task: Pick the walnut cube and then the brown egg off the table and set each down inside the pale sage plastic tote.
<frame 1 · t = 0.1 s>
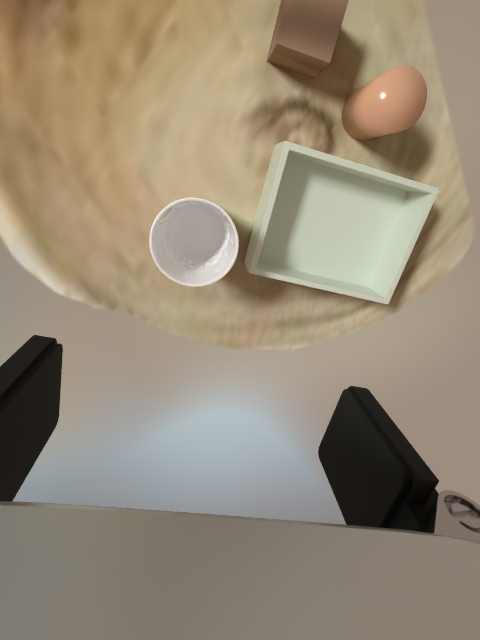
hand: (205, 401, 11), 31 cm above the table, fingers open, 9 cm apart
cube: (298, 40, 33), on the table
white cup: (196, 228, 39), on the table
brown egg: (364, 113, 36), on the table
tote: (326, 225, 40), on the table
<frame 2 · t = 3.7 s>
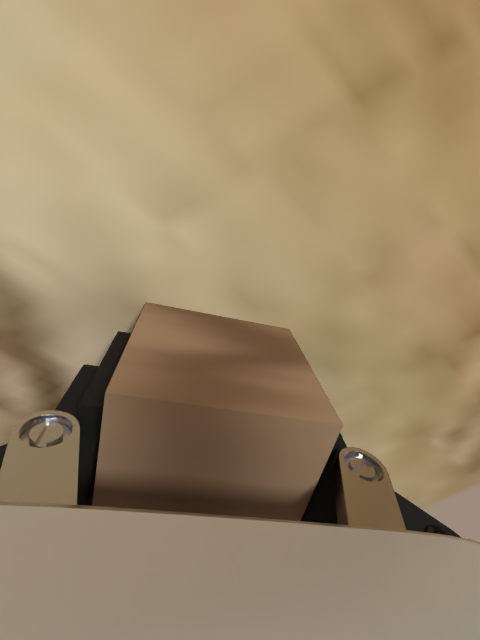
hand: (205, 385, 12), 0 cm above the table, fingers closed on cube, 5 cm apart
cube: (205, 377, 12), on the table, touching gripper
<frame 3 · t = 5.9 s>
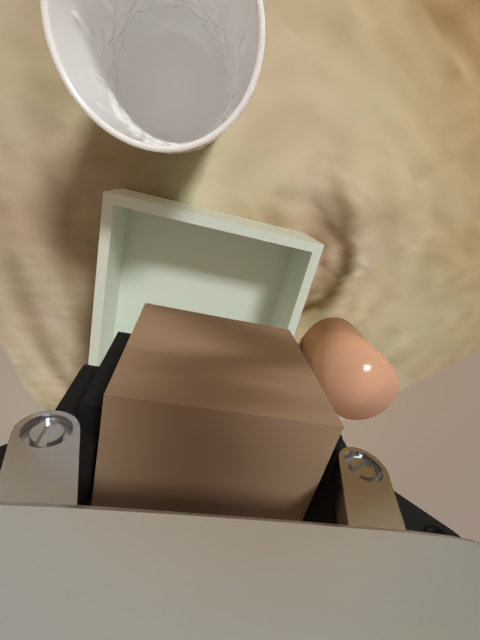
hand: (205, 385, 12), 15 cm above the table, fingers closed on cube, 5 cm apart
cube: (205, 378, 12), point 15 cm above the table, touching gripper
white cup: (177, 93, 21), on the table
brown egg: (329, 343, 30), on the table
tote: (194, 318, 27), on the table
when the fingers open (3 cm above the table, at t = 8.4 s): cube drops 2 cm, resting on tote.
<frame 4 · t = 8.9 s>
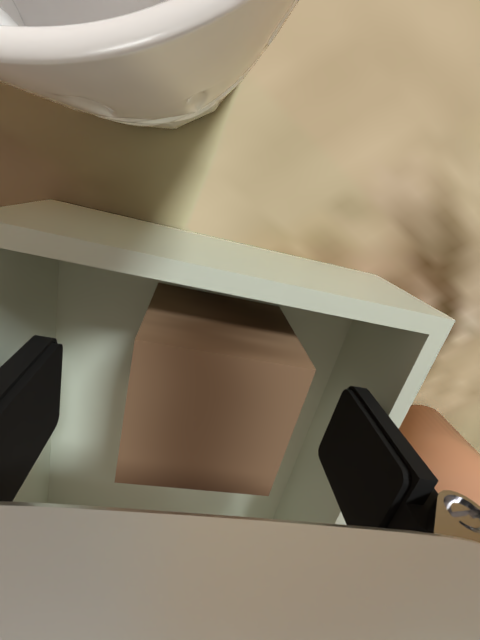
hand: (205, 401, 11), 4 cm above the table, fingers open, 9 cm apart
cube: (208, 348, 14), point 1 cm above the table, touching tote
white cup: (149, 8, 10), on the table
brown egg: (402, 441, 19), on the table
tote: (188, 413, 16), on the table
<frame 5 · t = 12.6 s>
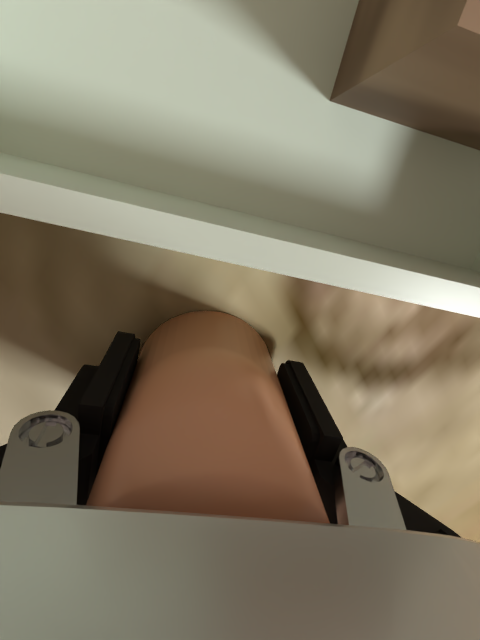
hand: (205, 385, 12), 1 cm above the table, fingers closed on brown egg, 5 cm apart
cube: (450, 20, 9), point 1 cm above the table, touching tote
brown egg: (205, 371, 13), on the table, touching gripper
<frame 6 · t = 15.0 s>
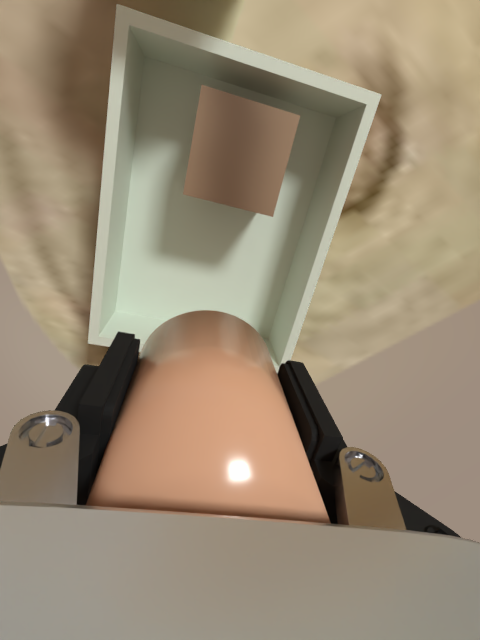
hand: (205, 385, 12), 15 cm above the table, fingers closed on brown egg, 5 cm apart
cube: (232, 160, 22), point 1 cm above the table, touching tote
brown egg: (205, 371, 13), point 14 cm above the table, touching gripper
tote: (216, 220, 24), on the table
when the fingers open (3 cm above the table, at t = 17.4 s): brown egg drops 1 cm, resting on tote.
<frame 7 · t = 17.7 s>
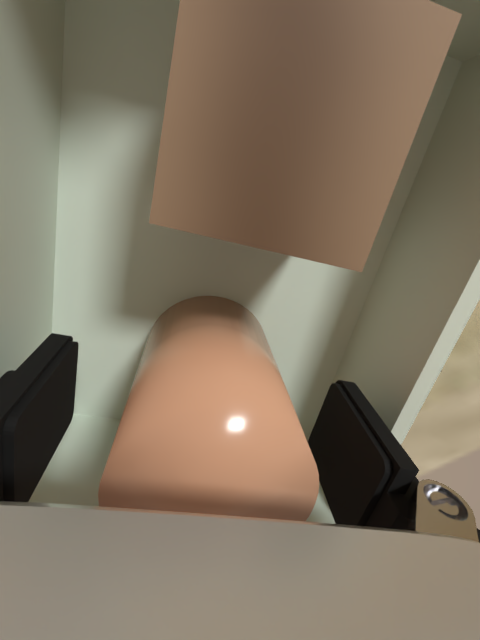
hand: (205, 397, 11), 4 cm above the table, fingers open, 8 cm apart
cube: (257, 146, 11), point 1 cm above the table, touching tote
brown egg: (207, 352, 14), point 1 cm above the table, touching tote
tote: (225, 257, 13), on the table
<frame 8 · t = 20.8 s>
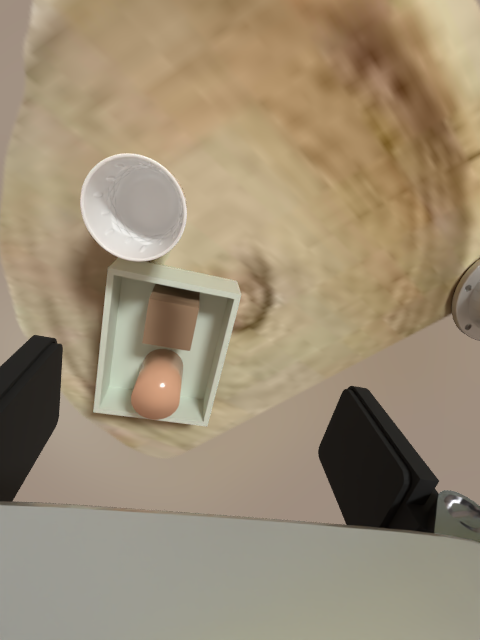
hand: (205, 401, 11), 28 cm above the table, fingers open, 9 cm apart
cube: (174, 308, 39), point 1 cm above the table, touching tote
white cup: (152, 201, 35), on the table
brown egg: (163, 366, 42), point 1 cm above the table, touching tote
tote: (167, 336, 41), on the table
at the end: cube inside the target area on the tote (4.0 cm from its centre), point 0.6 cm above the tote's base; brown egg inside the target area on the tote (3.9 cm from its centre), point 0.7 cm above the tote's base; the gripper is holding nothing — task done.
